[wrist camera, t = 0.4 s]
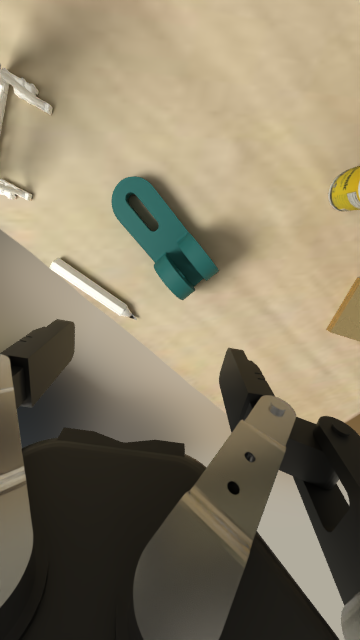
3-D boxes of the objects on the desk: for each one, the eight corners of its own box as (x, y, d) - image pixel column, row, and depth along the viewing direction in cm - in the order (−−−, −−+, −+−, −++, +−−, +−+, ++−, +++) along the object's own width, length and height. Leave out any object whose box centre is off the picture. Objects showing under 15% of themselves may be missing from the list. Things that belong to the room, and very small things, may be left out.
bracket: (214, 266, 38) (222, 274, 30) (183, 291, 39) (183, 305, 32) (138, 168, 33) (126, 150, 25) (106, 202, 34) (86, 195, 27)
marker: (138, 317, 42) (58, 263, 38) (142, 311, 40) (60, 255, 37) (132, 327, 40) (48, 272, 36) (136, 321, 39) (49, 264, 35)
